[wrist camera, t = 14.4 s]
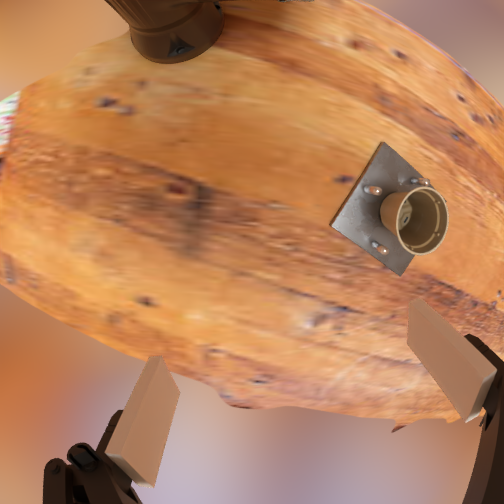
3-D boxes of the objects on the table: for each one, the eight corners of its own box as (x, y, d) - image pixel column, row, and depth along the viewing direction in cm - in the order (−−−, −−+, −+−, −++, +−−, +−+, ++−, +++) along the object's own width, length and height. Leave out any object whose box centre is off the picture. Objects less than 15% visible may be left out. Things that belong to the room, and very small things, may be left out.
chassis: (329, 224, 43) (339, 231, 38) (381, 142, 39) (396, 139, 34) (397, 274, 45) (411, 285, 40) (442, 200, 41) (460, 204, 36)
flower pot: (422, 188, 40) (453, 194, 31) (413, 243, 42) (441, 258, 34) (375, 177, 39) (402, 179, 31) (366, 236, 42) (390, 252, 34)
